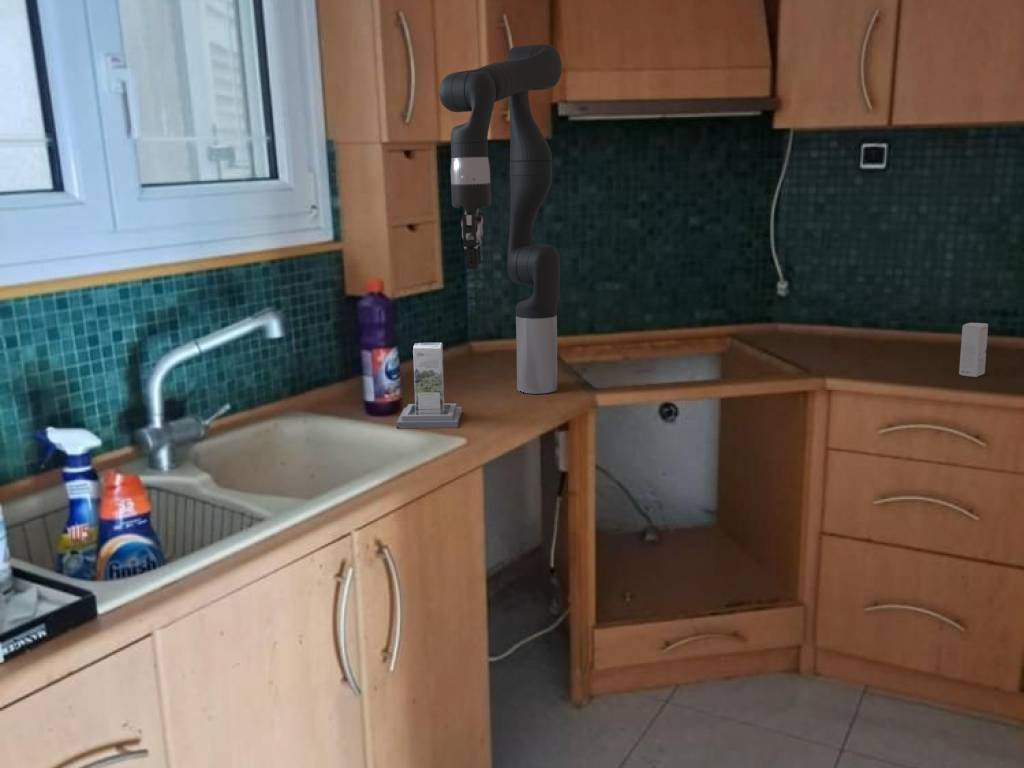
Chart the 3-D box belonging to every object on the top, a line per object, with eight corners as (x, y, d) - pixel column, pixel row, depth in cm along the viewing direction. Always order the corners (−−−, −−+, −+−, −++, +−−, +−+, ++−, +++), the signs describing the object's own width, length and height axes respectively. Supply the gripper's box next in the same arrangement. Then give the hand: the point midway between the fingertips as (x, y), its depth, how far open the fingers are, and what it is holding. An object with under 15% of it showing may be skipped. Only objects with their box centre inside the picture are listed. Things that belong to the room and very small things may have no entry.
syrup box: (445, 410, 193) (442, 341, 190) (443, 417, 187) (441, 346, 184) (417, 411, 193) (414, 341, 190) (415, 418, 187) (412, 347, 184)
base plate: (404, 413, 196) (404, 402, 196) (461, 412, 196) (461, 402, 195) (396, 428, 184) (396, 417, 184) (457, 427, 184) (456, 416, 184)
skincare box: (977, 377, 220) (982, 326, 217) (957, 375, 223) (961, 324, 220) (985, 373, 224) (990, 323, 222) (965, 370, 227) (970, 321, 225)
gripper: (487, 182, 172) (490, 270, 175) (492, 180, 185) (495, 262, 189) (447, 183, 172) (450, 271, 176) (454, 181, 186) (458, 263, 189)
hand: (473, 266), depth 182 cm, fingers open, 8 cm apart
